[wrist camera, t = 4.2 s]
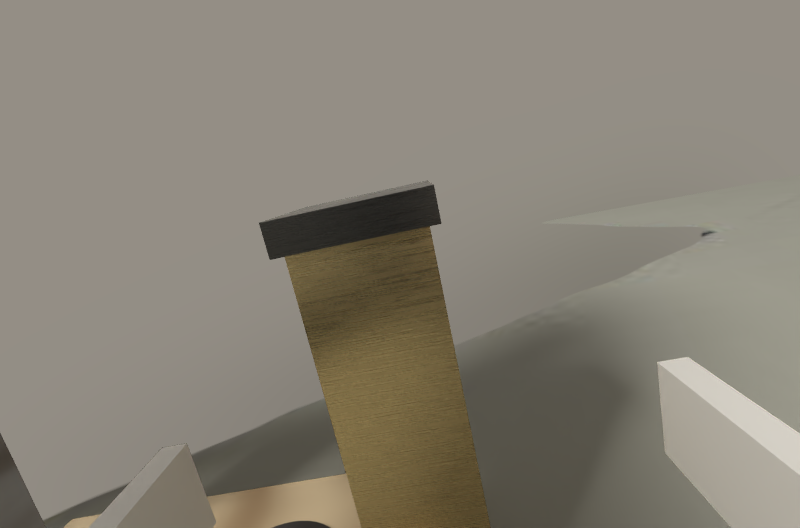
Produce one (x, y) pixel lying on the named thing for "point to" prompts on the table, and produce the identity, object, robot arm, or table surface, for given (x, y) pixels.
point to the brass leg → (385, 354)
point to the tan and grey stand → (213, 504)
